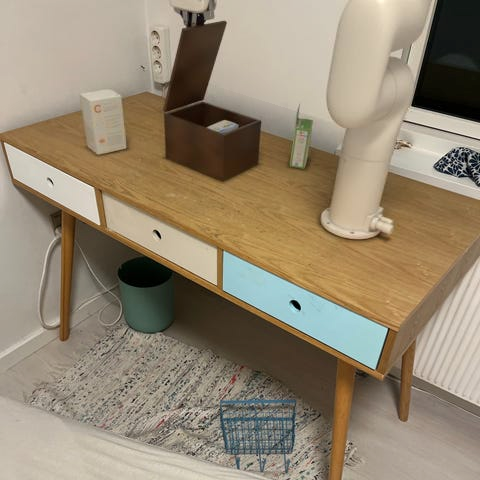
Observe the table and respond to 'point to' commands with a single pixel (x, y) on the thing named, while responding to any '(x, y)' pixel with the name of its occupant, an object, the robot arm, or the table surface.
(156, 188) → the table surface
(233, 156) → the chest
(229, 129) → the medicine box
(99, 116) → the small box
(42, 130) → the table surface
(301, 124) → the ink box
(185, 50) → the chest lid
